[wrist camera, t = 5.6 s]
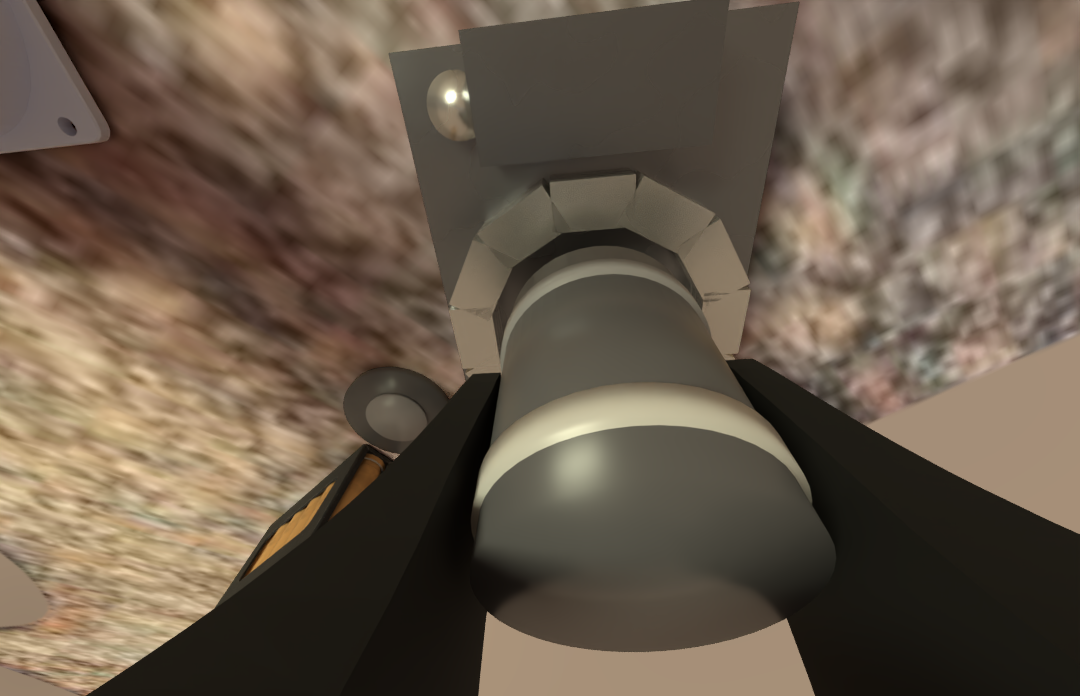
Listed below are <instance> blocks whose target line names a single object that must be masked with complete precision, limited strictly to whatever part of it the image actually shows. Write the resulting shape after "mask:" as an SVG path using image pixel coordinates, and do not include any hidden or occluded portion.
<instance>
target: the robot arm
mask: <svg viewBox="0 0 1080 696" xmlns="http://www.w3.org/2000/svg"><path fill="white" fill-rule="evenodd" d="M71 122H72V123H73V124H74V125H75V127H76V130H77V131H76V130H75V129H74V128H73V126H72V124H71ZM109 137H110V129H109V126H108V124H107V122H106V120H105V118H104V117H103V115H102V113H101V112H100V110H99V108H98V106H97V105H96V103H95V101H94V99H93V98H92V96H91V94H90V93H89V91H88V89H87V87H86V86H85V84H84V82H83V80H82V79H81V77H80V75H79V73H78V72H77V70H76V68H75V67H74V65H73V63H72V61H71V60H70V58H69V56H68V54H67V53H66V51H65V49H64V48H63V46H62V44H61V42H60V41H59V39H58V37H57V35H56V34H55V32H54V30H53V29H52V27H51V25H50V23H49V22H48V20H47V18H46V16H45V15H44V13H43V11H42V10H41V8H40V6H39V4H38V3H37V1H36V0H0V154H3V153H12V152H21V151H30V150H38V149H47V148H56V147H65V146H74V145H83V144H92V143H100V142H105V141H107V140H108V139H109ZM725 361H726V362H727V364H728V366H729V367H730V369H731V371H732V372H733V374H734V376H735V377H736V379H737V381H738V382H739V384H740V386H741V387H742V389H743V391H744V392H745V394H746V396H747V397H748V399H749V401H750V402H751V404H752V406H753V407H754V409H755V411H756V412H758V413H759V414H760V415H761V416H762V417H764V418H765V419H766V420H767V421H768V422H769V423H770V424H771V425H772V426H773V427H774V429H775V430H776V431H777V433H778V434H779V435H780V437H781V438H782V440H783V441H784V443H785V445H786V446H787V448H788V449H789V451H790V453H791V454H792V456H793V457H794V459H795V461H796V462H797V464H798V465H799V467H800V469H801V470H802V472H803V473H804V475H805V478H806V480H807V482H808V484H809V486H810V491H811V496H812V506H813V508H814V509H815V511H816V513H817V514H818V516H819V518H820V519H821V521H822V523H823V524H824V526H825V528H826V529H827V531H828V533H829V535H830V537H831V539H832V541H833V543H834V545H835V552H836V563H835V569H834V572H833V574H832V576H831V578H830V580H829V582H828V583H827V585H826V586H825V587H824V589H823V590H822V591H821V593H820V594H818V595H817V596H816V597H815V598H814V599H813V600H812V601H811V602H810V603H809V604H807V605H806V606H805V607H803V608H802V609H800V610H799V611H798V612H796V613H794V614H792V615H791V616H789V617H787V620H788V623H789V625H790V628H791V631H792V634H793V636H794V639H795V642H796V644H797V647H798V650H799V653H800V655H801V658H802V660H803V663H804V666H805V668H806V672H807V674H808V677H809V680H810V682H811V685H812V688H813V691H814V694H815V696H1080V534H1078V533H1075V532H1073V531H1071V530H1069V529H1066V528H1064V527H1062V526H1060V525H1058V524H1055V523H1053V522H1051V521H1049V520H1047V519H1045V518H1042V517H1040V516H1038V515H1036V514H1034V513H1032V512H1030V511H1028V510H1026V509H1024V508H1022V507H1020V506H1017V505H1015V504H1013V503H1011V502H1009V501H1007V500H1005V499H1003V498H1001V497H999V496H997V495H995V494H993V493H991V492H989V491H986V490H984V489H982V488H980V487H978V486H976V485H974V484H972V483H970V482H968V481H966V480H964V479H962V478H960V477H958V476H956V475H954V474H952V473H950V472H948V471H946V470H945V469H943V468H941V467H939V466H937V465H935V464H933V463H931V462H930V461H928V460H926V459H924V458H922V457H921V456H919V455H917V454H915V453H913V452H911V451H909V450H908V449H906V448H904V447H902V446H900V445H898V444H897V443H895V442H893V441H891V440H889V439H888V438H886V437H884V436H882V435H881V434H879V433H877V432H875V431H873V430H872V429H870V428H868V427H867V426H865V425H863V424H861V423H860V422H858V421H856V420H855V419H853V418H851V417H850V416H848V415H846V414H844V413H843V412H841V411H839V410H838V409H836V408H834V407H833V406H831V405H829V404H828V403H826V402H825V401H823V400H821V399H820V398H818V397H816V396H815V395H813V394H811V393H810V392H808V391H807V390H805V389H803V388H802V387H800V386H798V385H797V384H795V383H793V382H792V381H790V380H789V379H787V378H785V377H784V376H782V375H780V374H779V373H777V372H775V371H774V370H772V369H770V368H769V367H767V366H765V365H763V364H761V363H760V362H758V361H756V360H754V359H740V360H725ZM500 382H501V372H499V373H480V374H472V375H471V376H470V377H469V379H468V380H467V381H466V382H465V383H464V384H463V385H462V386H461V388H460V389H459V390H458V391H457V392H456V393H455V394H454V396H453V397H452V398H451V399H450V400H449V401H448V403H447V404H446V405H445V406H444V407H443V408H442V410H441V411H440V412H439V413H438V414H437V415H436V416H435V418H434V419H433V420H432V421H431V422H430V423H429V424H428V425H427V426H426V427H425V429H424V430H423V431H422V432H421V433H420V434H419V435H418V436H417V437H416V438H415V440H414V441H413V442H412V443H411V444H410V445H409V446H408V447H407V448H406V449H405V450H404V451H403V452H402V453H401V454H400V455H399V456H398V457H397V458H396V459H395V460H394V461H393V462H392V463H391V464H390V465H389V466H388V467H387V468H386V469H385V470H384V471H383V472H382V473H381V474H380V475H379V476H378V477H377V478H376V479H375V480H374V481H373V482H372V483H371V484H370V485H369V486H368V487H367V488H365V489H364V490H363V491H362V492H361V493H360V494H359V495H358V496H357V497H356V498H354V499H353V500H352V501H351V502H350V503H349V504H348V505H346V506H345V507H344V508H343V509H342V510H341V511H339V512H338V513H337V514H336V515H335V516H334V517H332V518H331V519H330V520H329V521H328V522H327V523H325V524H324V525H323V526H322V527H321V528H320V529H318V530H317V531H316V532H315V533H314V534H312V535H311V536H310V537H309V538H307V539H306V540H305V541H303V542H302V543H301V544H300V545H298V546H297V547H296V548H294V549H293V550H292V551H290V552H289V553H288V554H287V555H285V556H284V557H283V558H281V559H280V560H279V561H278V562H276V563H275V564H274V565H272V566H271V567H270V568H268V569H267V570H266V571H265V572H263V573H262V574H261V575H259V576H258V577H257V578H255V579H254V580H253V581H252V582H250V583H249V584H248V585H246V586H245V587H244V588H242V589H241V590H240V591H238V592H237V593H236V594H234V595H233V596H232V597H230V598H229V599H227V600H226V601H225V602H223V603H222V604H220V605H219V606H218V607H216V608H215V609H213V610H212V611H211V612H209V613H208V614H206V615H205V616H203V617H202V618H201V619H199V620H198V621H196V622H195V623H194V624H192V625H191V626H189V627H188V628H186V629H185V630H184V631H182V632H181V633H179V634H178V635H176V636H175V637H173V638H172V639H170V640H169V641H167V642H166V643H164V644H163V645H162V646H160V647H159V648H157V649H156V650H154V651H153V652H151V653H150V654H148V655H147V656H145V657H144V658H142V659H141V660H140V661H138V662H137V663H135V664H134V665H132V666H131V667H129V668H128V669H126V670H125V671H123V672H121V673H120V674H118V675H117V676H115V677H114V678H112V679H111V680H109V681H108V682H106V683H105V684H103V685H102V686H100V687H99V688H97V689H96V690H94V691H92V692H91V693H89V694H88V695H86V696H478V692H479V681H480V671H481V661H482V651H483V641H484V632H485V622H486V614H487V610H486V609H485V608H484V607H483V606H482V605H481V604H480V603H479V601H478V600H477V598H476V597H475V595H474V593H473V590H472V588H471V585H470V577H469V572H470V566H471V559H472V553H473V547H474V537H473V534H472V530H471V514H472V508H473V502H474V497H475V491H476V485H477V480H478V474H479V469H480V467H481V464H482V462H483V459H484V457H485V455H486V453H487V452H488V450H489V449H490V443H491V437H492V431H493V425H494V419H495V413H496V407H497V400H498V394H499V388H500Z"/></svg>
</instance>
